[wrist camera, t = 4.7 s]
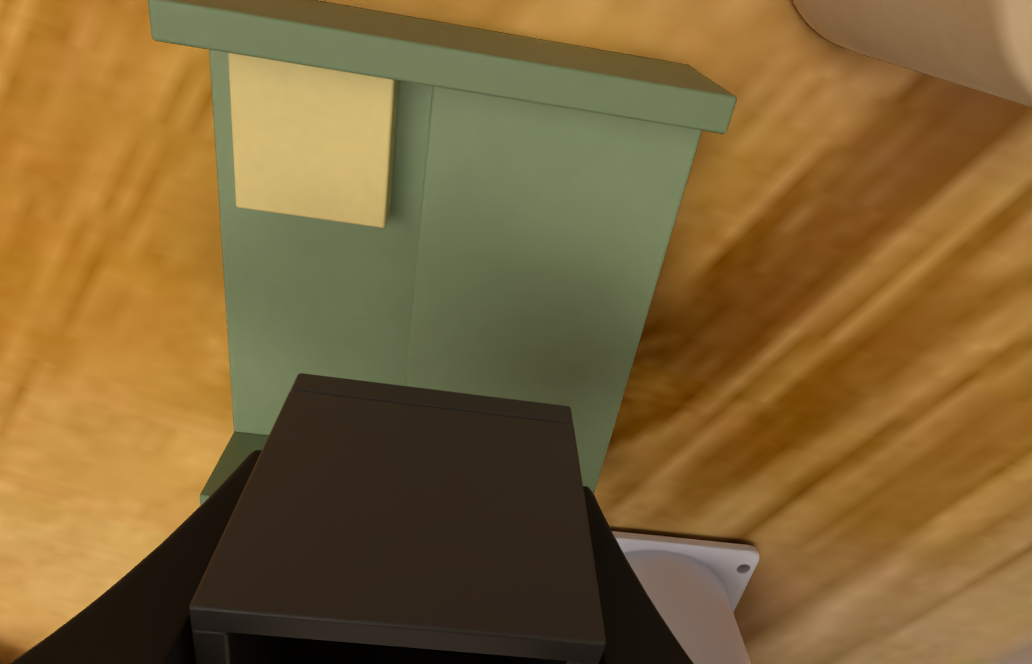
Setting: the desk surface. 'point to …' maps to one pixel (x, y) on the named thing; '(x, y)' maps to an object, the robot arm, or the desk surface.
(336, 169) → the note pad
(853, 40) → the candle
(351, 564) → the holder
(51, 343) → the desk surface
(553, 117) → the shelf
